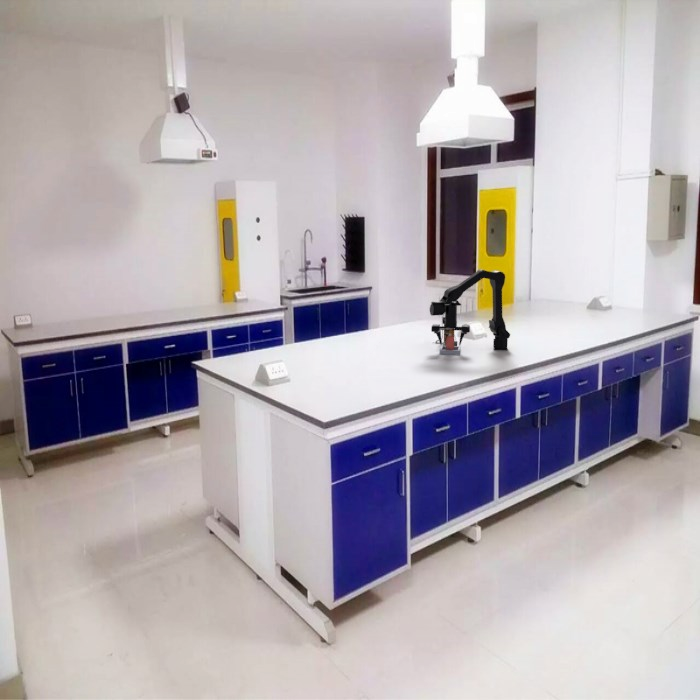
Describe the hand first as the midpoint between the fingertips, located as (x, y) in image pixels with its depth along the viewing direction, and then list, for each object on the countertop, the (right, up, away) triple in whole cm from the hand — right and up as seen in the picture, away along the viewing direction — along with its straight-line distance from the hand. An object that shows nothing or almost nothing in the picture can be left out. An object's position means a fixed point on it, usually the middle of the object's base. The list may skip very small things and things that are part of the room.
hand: (450, 345), depth 317 cm
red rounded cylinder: (0, -3, +1) cm, 3 cm away
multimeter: (-1, +1, +21) cm, 21 cm away
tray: (0, -3, +1) cm, 4 cm away
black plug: (+2, -1, +9) cm, 10 cm away
